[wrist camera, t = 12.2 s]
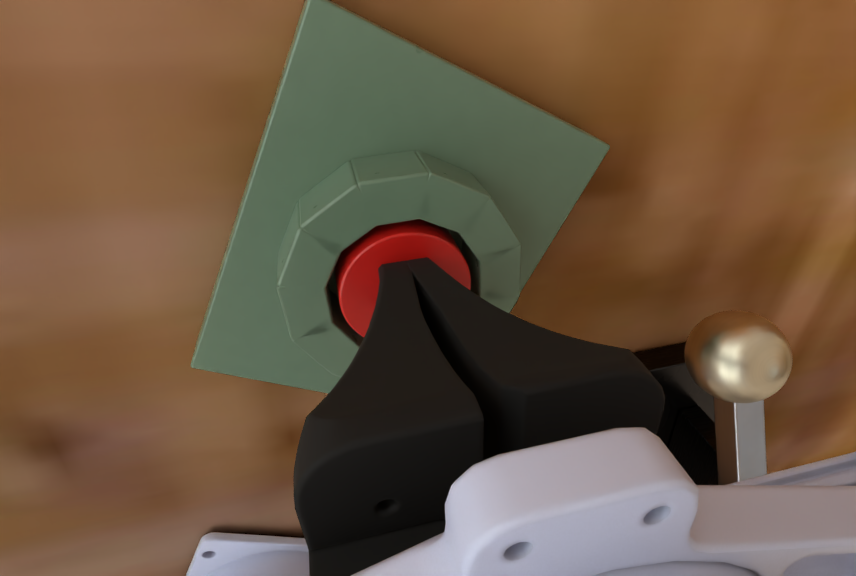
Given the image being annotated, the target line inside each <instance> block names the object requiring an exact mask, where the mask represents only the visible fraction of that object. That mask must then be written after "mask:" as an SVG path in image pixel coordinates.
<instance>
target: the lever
mask: <svg viewBox="0 0 856 576" xmlns="http://www.w3.org/2000/svg"><path fill="white" fill-rule="evenodd" d="M685 362H686V366H687V369H688V371H689V373H690V375H691V377H692V379H693V380H694V381H695V382H696V383H697V385H698V386H699V387H700V388H702V389H703V390H704V391H705V392H707V393H708V394H710V395H712V396H713V398H714V415H715V433H716V450H717V468H718V485H727V484H731V483H735V482H739V481H743V480H747V479H751V478H755V477H758V476H762V475H766V474H767V464H766V440H765V416H764V399H766V398H768V397H770V396H772V395H773V394H775V393H776V392H777V391H779V390H780V389H781V388H782V387H783V385H784V384H785V383H786V381H787V379H788V377H789V375H790V373H791V369H792V362H793V358H792V351H791V347H790V345H789V342H788V340H787V339H786V337H785V335H784V334H783V332H782V331H781V330H780V329H779V328H778V327H777V326H776V325H775V324H773V323H772V322H771V321H769V320H768V319H766V318H764V317H762V316H760V315H757V314H754V313H751V312H747V311H740V310H730V311H723V312H719V313H715V314H713V315H711V316H708V317H707V318H705V319H703V320H702V321H701V322H699V323H698V324H697V325H696V326H695V327H694V329H693V330H692V331H691V333H690V334H689V336H688V339H687V341H686V345H685Z"/></svg>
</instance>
